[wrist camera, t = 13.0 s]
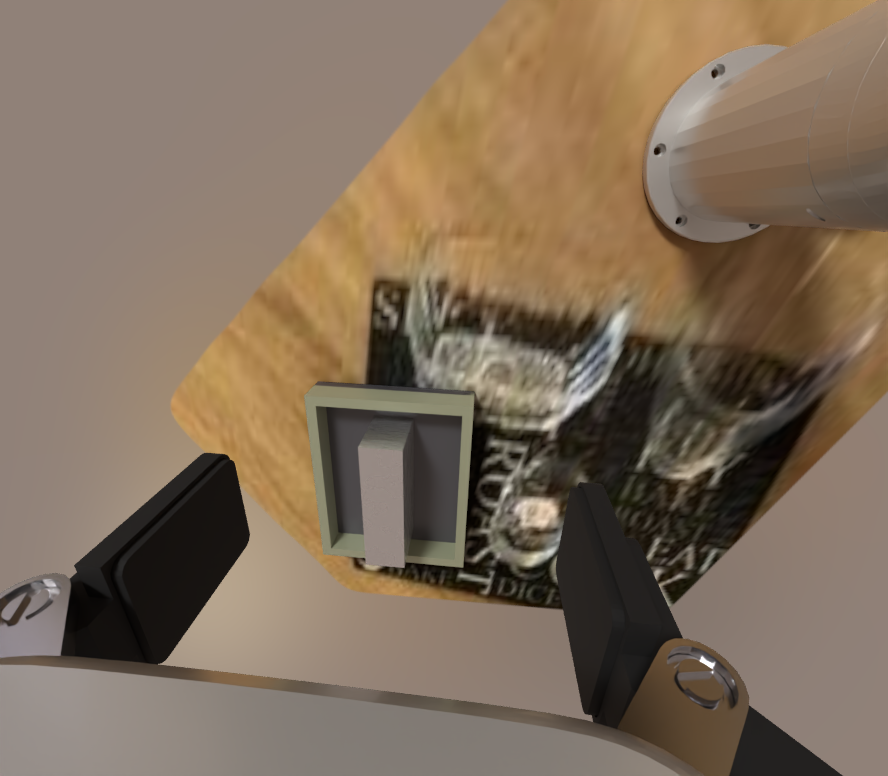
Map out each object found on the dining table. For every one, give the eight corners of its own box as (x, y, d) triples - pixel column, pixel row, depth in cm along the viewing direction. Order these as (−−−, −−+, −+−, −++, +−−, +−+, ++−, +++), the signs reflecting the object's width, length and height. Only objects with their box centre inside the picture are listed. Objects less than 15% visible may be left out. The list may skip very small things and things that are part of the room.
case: (474, 391, 41) (473, 407, 37) (464, 544, 49) (463, 567, 45) (317, 381, 42) (304, 395, 38) (333, 532, 50) (323, 554, 47)
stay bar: (413, 418, 41) (402, 450, 36) (413, 526, 47) (404, 567, 41) (374, 415, 42) (357, 447, 36) (379, 523, 47) (365, 564, 42)
